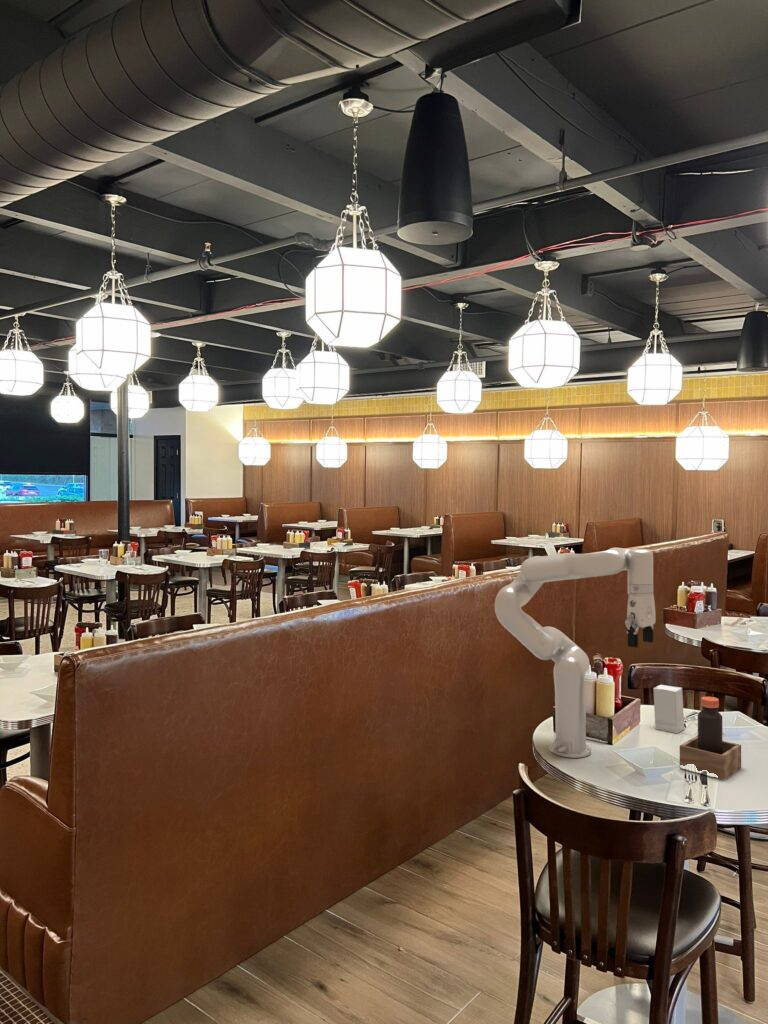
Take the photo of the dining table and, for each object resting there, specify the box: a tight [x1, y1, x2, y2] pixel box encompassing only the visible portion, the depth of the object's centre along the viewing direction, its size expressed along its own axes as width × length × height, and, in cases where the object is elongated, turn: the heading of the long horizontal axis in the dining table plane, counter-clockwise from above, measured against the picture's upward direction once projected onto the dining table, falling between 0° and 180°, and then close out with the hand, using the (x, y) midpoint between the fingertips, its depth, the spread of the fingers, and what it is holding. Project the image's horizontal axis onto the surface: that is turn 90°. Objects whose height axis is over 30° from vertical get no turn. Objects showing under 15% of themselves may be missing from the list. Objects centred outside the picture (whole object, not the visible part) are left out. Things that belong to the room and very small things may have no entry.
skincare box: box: [653, 684, 685, 734], centre depth 260 cm, size 8×6×15 cm
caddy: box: [679, 734, 742, 781], centre depth 224 cm, size 13×13×7 cm
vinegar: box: [697, 696, 723, 755], centre depth 225 cm, size 7×7×20 cm
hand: (640, 644), depth 231 cm, fingers open, 9 cm apart
